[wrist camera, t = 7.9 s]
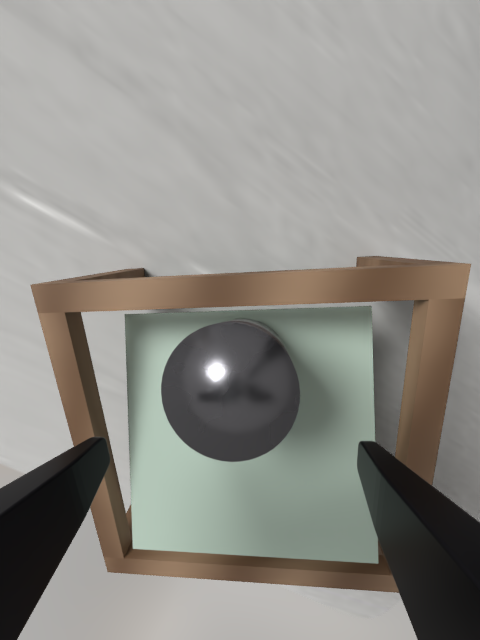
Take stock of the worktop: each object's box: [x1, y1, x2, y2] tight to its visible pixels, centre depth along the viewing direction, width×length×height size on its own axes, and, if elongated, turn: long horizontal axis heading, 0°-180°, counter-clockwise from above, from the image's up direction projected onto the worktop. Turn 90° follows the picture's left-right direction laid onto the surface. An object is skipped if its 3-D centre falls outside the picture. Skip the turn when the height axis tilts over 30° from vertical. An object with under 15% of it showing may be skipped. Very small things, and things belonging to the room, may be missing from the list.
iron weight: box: [161, 319, 300, 462], centre depth 12 cm, size 5×5×6 cm
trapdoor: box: [125, 306, 378, 564], centre depth 15 cm, size 14×14×1 cm
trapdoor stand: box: [31, 256, 471, 593], centre depth 17 cm, size 18×18×8 cm
